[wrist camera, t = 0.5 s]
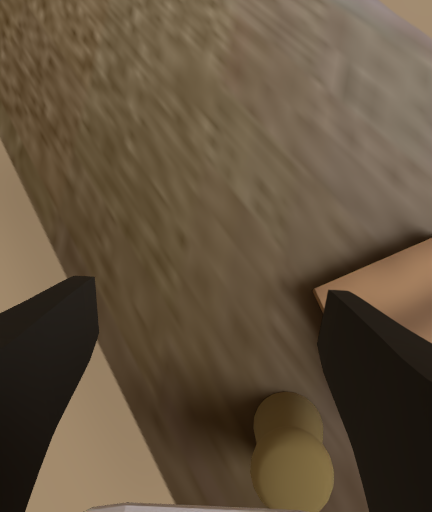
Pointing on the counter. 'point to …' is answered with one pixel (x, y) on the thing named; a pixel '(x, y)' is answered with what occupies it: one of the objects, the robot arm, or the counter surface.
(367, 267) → the tan flat block
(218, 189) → the counter surface
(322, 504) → the olive rounded piece
